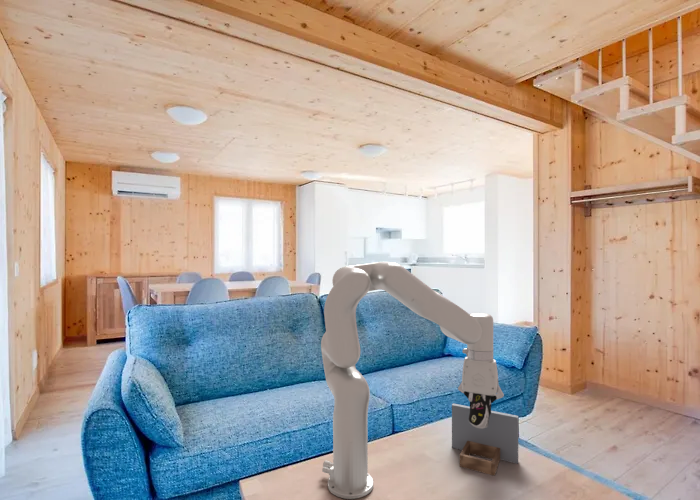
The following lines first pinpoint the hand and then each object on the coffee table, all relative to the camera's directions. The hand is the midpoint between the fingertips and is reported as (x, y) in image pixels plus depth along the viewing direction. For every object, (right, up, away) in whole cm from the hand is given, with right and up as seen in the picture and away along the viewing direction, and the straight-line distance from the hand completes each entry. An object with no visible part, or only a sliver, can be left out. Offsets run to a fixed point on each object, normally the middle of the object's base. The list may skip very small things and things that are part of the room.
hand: (480, 414), depth 121 cm
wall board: (+3, -15, +5) cm, 16 cm away
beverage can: (-1, -4, 0) cm, 4 cm away
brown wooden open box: (0, -15, 0) cm, 15 cm away
